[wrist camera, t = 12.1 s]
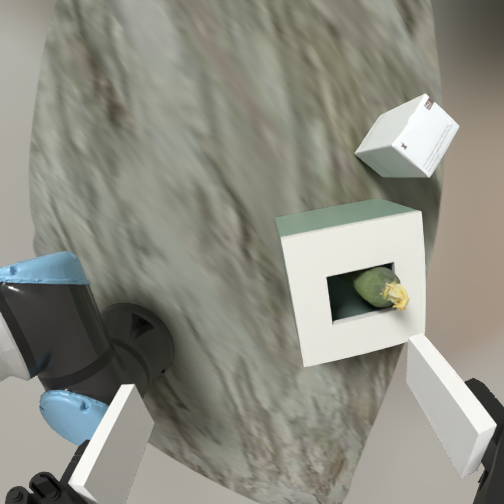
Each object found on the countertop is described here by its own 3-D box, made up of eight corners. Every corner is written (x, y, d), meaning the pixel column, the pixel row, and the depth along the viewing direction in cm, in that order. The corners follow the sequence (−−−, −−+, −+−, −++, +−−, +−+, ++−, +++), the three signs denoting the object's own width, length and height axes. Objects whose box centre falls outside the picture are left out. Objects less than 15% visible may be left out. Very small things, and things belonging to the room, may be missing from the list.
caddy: (293, 316, 51) (304, 367, 37) (274, 217, 47) (280, 239, 33) (388, 295, 49) (424, 336, 36) (378, 198, 45) (421, 211, 32)
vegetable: (348, 248, 47) (434, 280, 28) (346, 276, 48) (427, 322, 28) (320, 248, 46) (399, 283, 27) (319, 278, 47) (393, 328, 28)
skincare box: (381, 177, 45) (429, 184, 30) (351, 152, 44) (390, 148, 30) (409, 135, 43) (463, 128, 28) (380, 110, 42) (427, 91, 28)
